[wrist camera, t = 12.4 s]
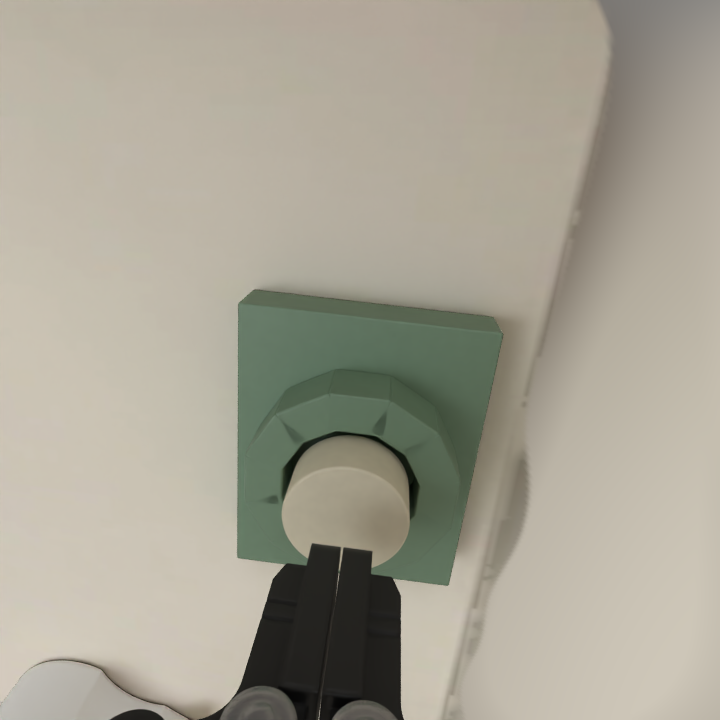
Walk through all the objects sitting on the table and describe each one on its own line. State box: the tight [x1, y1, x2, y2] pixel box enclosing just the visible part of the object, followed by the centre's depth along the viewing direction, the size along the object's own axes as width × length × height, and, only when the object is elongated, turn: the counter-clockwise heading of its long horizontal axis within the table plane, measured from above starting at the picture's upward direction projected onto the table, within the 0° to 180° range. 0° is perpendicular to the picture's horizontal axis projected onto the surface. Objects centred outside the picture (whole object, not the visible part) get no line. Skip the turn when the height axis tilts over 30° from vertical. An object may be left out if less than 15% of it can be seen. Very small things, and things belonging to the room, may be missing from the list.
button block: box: [237, 290, 503, 586], centre depth 17 cm, size 10×8×4 cm
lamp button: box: [282, 435, 410, 570], centre depth 15 cm, size 4×4×2 cm
